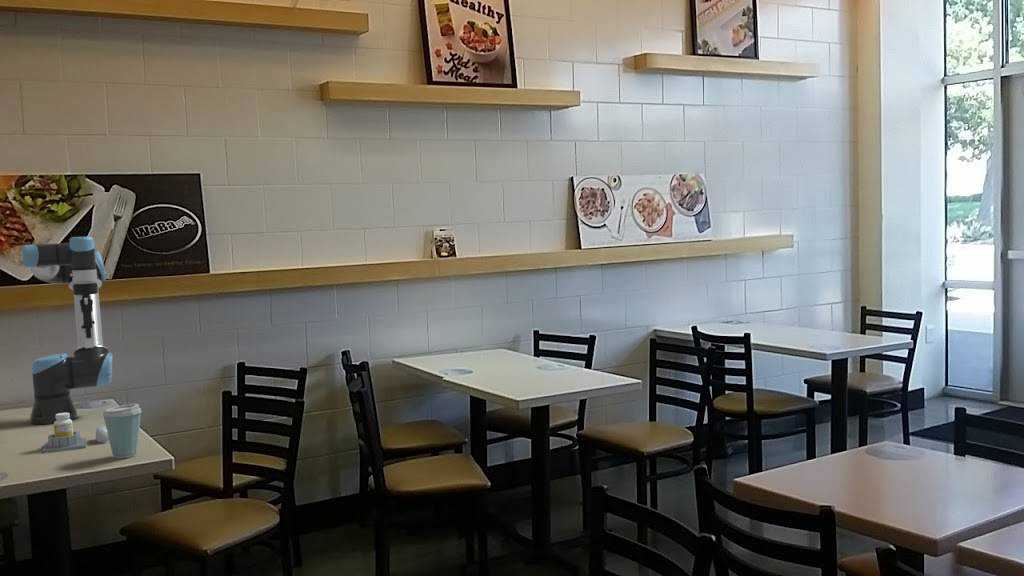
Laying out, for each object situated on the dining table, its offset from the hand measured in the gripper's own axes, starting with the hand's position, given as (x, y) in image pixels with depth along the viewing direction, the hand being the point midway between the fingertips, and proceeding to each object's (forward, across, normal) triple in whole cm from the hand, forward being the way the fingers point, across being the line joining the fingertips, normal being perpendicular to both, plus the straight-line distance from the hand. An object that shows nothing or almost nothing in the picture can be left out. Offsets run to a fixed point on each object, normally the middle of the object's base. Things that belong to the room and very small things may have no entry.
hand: (89, 345), depth 320 cm
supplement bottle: (+28, +22, -9) cm, 37 cm away
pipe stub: (+29, +20, +2) cm, 35 cm away
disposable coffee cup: (+29, +47, +8) cm, 56 cm away
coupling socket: (+29, +22, -9) cm, 37 cm away
